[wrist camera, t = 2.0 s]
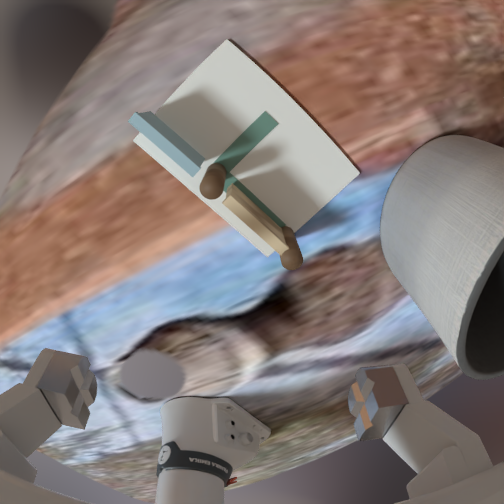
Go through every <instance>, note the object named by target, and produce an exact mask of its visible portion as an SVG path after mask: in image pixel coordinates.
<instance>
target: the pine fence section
mask: <svg viewBox="0 0 504 504" xmlns="http://www.w3.org/2000/svg"><path fill="white" fill-rule="evenodd" d="M226 174H227V172H226V168H225V167H224V166H223V165H222V164H220V163H213V164H211V165H210V166H209V167H208V168H207V170H206V173H205V175H204V177H203V179H202V181H201V183H200V188H199V189H200V193H201V194H202V196H203V197H205V198H207V199H210V200H213V199H217V198H219V197H220V196H221V195H222V193H223V190H224V184H225V179H226ZM222 204H224V205H225V206H226V207H227V208H228V209H229V210H230V211H231V212H233V213H234V214H235V215H236V216H237V217H238V218H239V219H240V220H242V221H243V222H244V223H245V224H246V225H247V226H248V227H249V228H251V229H252V230H253V231H254V232H255V233H256V234H257V235H258V236H260V237H261V238H262V239H263V240H264V241H265V242H266V243H267V244H269V245H270V246H271V247H272V248H273V249H274V250H275V251H276V252H277V253H279V254H280V258H281V262H282V265H283V267H284V268H286V269H288V270H295V269H297V268H299V267H300V266H301V265H302V263H303V257H302V254H301V251H300V248H299V246H298V243H297V240H296V237H295V235H294V232H293V230H292V229H291V228H290V227H288V226H284V227H281V228H280V227H279V226H278V225H277V224H276V223H275V222H274V221H273V220H272V219H271V218H270V217H269V216H268V215H267V214H265V213H264V212H263V211H262V210H261V209H260V208H259V207H258V206H257V205H256V204H255V203H254V202H252V201H251V200H250V199H249V198H248V197H247V196H246V195H245V194H244V193H243V192H242V191H240V190H239V189H238V188H237V187H236V186H235V185H234V184H233V183H232V184H231V185H230V186H229V187H228V188H227V193H226V198H225V199H224V201H223V202H222Z"/></svg>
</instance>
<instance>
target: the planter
mask: <svg viewBox="0 0 504 504" xmlns="http://www.w3.org/2000/svg"><path fill="white" fill-rule="evenodd" d="M380 239H381V246H382V250H383V254H384V257H385V259H386V261H387V263H388V265H389V267H390V269H391V271H392V272H393V274H394V275H395V277H396V278H397V280H398V281H399V282H400V283H401V285H402V286H403V287H404V289H405V290H406V291H407V293H408V294H409V295H410V297H411V298H412V299H413V301H414V302H415V303H416V305H417V306H418V307H419V309H420V310H421V311H422V313H423V314H424V315H425V317H426V318H427V320H428V321H429V322H430V324H431V325H432V327H433V328H434V330H435V331H436V332H437V334H438V335H439V337H440V338H441V340H442V341H443V343H444V344H445V346H446V347H447V349H448V350H449V352H450V353H451V355H452V357H453V358H454V360H455V361H456V363H457V364H458V366H459V367H460V369H461V370H462V371H463V373H464V374H466V375H467V376H469V377H471V378H473V379H478V380H479V379H480V380H485V379H491V378H496V377H499V376H502V375H504V148H502V147H500V146H497V145H494V144H491V143H489V142H486V141H483V140H480V139H477V138H473V137H469V136H463V135H448V136H443V137H439V138H436V139H434V140H431V141H429V142H428V143H426V144H424V145H423V146H421V147H420V148H419V149H417V150H416V151H415V152H414V153H413V154H412V155H411V156H410V157H409V158H408V159H407V160H406V161H405V162H404V163H403V165H402V166H401V167H400V169H399V170H398V172H397V173H396V175H395V177H394V178H393V180H392V182H391V184H390V187H389V189H388V191H387V194H386V197H385V200H384V203H383V207H382V213H381V220H380Z"/></svg>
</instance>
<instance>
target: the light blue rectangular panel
mask: <svg viewBox="0 0 504 504" xmlns="http://www.w3.org/2000/svg"><path fill="white" fill-rule="evenodd" d="M128 122H129V123H130V124H131V125H133V126H134V127H135V128H136V129H137V130H138V131H140V132H141V133H142V134H143V135H144V136H145V137H147V138H148V139H149V140H150V141H151V142H152V143H154V144H155V145H156V146H157V147H158V148H159V149H161V150H162V151H163V152H164V153H165V154H166V155H167V156H169V157H170V158H171V159H172V160H173V161H174V162H176V163H177V164H178V165H179V166H180V167H181V168H182V169H184V170H185V171H186V172H187V173H188V174H189V175H190V176H192V177H194V176H195V174H196V173H197V172H198V171H199V170H200V169H201V167H200V166H201V165H202V163H203V161H204V160H205V158H204V157H203V156H202V155H200V154H199V153H198V152H197V151H196V150H195V149H194V148H192V147H191V146H190V145H189V144H188V143H187V142H186V141H184V140H183V139H182V138H181V137H180V136H179V135H178V134H176V133H175V132H174V131H173V130H172V129H171V128H169V127H168V126H167V125H166V124H165V123H164V122H163V121H161V120H160V119H159V118H158V117H157V116H156V115H154V114H153V113H152V112H151V111H150V112H144V113H138V112H135V113H134V114H133V116H132V117H131V118H130V119H129V121H128Z"/></svg>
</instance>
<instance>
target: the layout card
mask: <svg viewBox="0 0 504 504" xmlns="http://www.w3.org/2000/svg"><path fill="white" fill-rule="evenodd" d="M155 115H156V116H157V117H158V118H159V119H160V120H161V121H163V122H164V123H165V124H166V125H167V126H168V127H169V128H171V129H172V130H173V131H174V132H175V133H176V134H178V135H179V136H180V137H181V138H182V139H183V140H184V141H186V142H187V143H188V144H189V145H190V146H191V147H192V148H194V149H195V150H196V151H197V152H198V153H199V154H200V155H202V156H203V157H204V158H205V160H204V161H203V163H202V165H201V166H200V167H201V169H200V170H199V171H198V172H197V173H196V174H195V176H194V177H192V176H190V175H189V174H188V173H187V172H186V171H185V170H184V169H182V168H181V167H180V166H179V165H178V164H177V163H176V162H174V161H173V160H172V159H171V158H170V157H169V156H167V155H166V154H165V153H164V152H163V151H162V150H161V149H159V148H158V147H157V146H156V145H155V144H154V143H152V142H151V141H150V140H149V139H148V138H147V137H145V136H144V135H143V134H142V133H141V132H140V133H139V134H138V135H137V137H136V138H135V139H134V140H133V141H134V142H135V143H136V144H137V145H139V146H140V147H141V148H142V149H143V150H144V151H146V152H147V153H148V154H149V155H150V156H151V157H153V158H154V159H155V160H156V161H157V162H158V163H159V164H161V165H162V166H163V167H164V168H165V169H166V170H168V171H169V172H170V173H171V174H172V175H173V176H175V177H176V178H177V179H178V180H179V181H180V182H181V183H183V184H184V185H185V186H186V187H187V188H188V189H190V190H191V191H192V192H193V193H194V194H195V195H196V196H198V197H199V198H200V199H201V200H202V201H203V202H205V203H206V204H207V205H208V206H209V207H210V208H211V209H213V210H214V211H215V212H216V213H217V214H218V215H220V216H221V217H222V218H223V219H224V220H225V221H226V222H228V223H229V224H230V225H231V226H232V227H233V228H234V229H236V230H237V231H238V232H239V233H240V234H241V235H243V236H244V237H245V238H246V239H247V240H248V241H249V242H251V243H252V244H253V245H254V246H255V247H256V248H257V249H259V250H260V251H261V252H262V253H263V254H264V255H265V256H267V257H269V256H270V255H271V254H272V253H273V252H274V251H275V250H274V249H273V248H272V247H271V246H270V245H269V244H267V243H266V242H265V241H264V240H263V239H262V238H261V237H260V236H258V235H257V234H256V233H255V232H254V231H253V230H252V229H251V228H249V227H248V226H247V225H246V224H245V223H244V222H243V221H242V220H240V219H239V218H238V217H237V216H236V215H235V214H234V213H233V212H231V211H230V210H229V209H228V208H227V207H226V206H225V205H224V204H222V202H223V201H224V199H225V198H226V193H227V188H228V187H229V186H230V185H231V184H232V183H233V184H234V185H235V186H236V187H237V188H238V189H239V190H240V191H242V192H243V193H244V194H245V195H246V196H247V197H248V198H249V199H250V200H251V201H252V202H254V203H255V204H256V205H257V206H258V207H259V208H260V209H261V210H262V211H263V212H264V213H265V214H267V215H268V216H269V217H270V218H271V219H272V220H273V221H274V222H275V223H276V224H277V225H278V226H279V227H280V228H281V227H284V226H288V227H290V228H291V229H292V230H293V232H294V233H295V232H296V231H297V230H298V229H300V228H301V227H302V226H303V225H304V224H305V223H306V222H307V221H308V220H309V219H311V218H312V217H313V216H314V215H315V214H316V213H317V212H318V211H319V210H320V209H322V208H323V207H324V206H325V205H326V204H327V203H328V202H329V201H330V200H331V199H332V198H334V197H335V196H336V195H337V194H338V193H339V192H340V191H341V190H342V189H343V188H344V187H346V186H347V185H348V184H349V183H350V182H351V181H352V180H353V179H354V178H355V177H356V176H358V175H359V174H360V173H359V171H358V170H357V169H356V168H355V167H354V165H353V164H352V163H351V162H350V161H349V160H348V158H347V157H346V156H345V155H344V154H343V153H342V151H341V150H340V149H339V148H338V147H337V146H336V145H335V144H334V142H333V141H332V140H331V139H330V138H329V137H328V136H327V135H326V134H325V132H324V131H323V130H322V129H321V128H320V127H319V126H318V125H317V124H316V123H315V122H314V121H313V120H312V119H311V118H310V116H309V115H308V114H307V113H306V112H305V111H304V110H303V109H302V108H301V107H300V106H299V105H298V104H297V103H296V102H295V101H294V100H293V99H292V98H291V97H290V96H289V95H288V94H287V93H286V92H285V91H284V90H283V89H282V88H281V87H280V86H279V85H278V84H276V83H275V82H274V81H273V80H272V79H271V78H270V77H269V76H268V75H267V74H266V73H265V72H264V71H263V70H262V69H260V68H259V67H258V66H257V65H256V64H255V63H254V62H253V61H252V60H250V59H249V58H248V57H247V56H246V55H245V54H244V53H243V52H241V51H240V50H239V49H238V48H237V47H236V46H234V45H233V44H232V43H231V42H230V41H228V40H226V41H224V42H223V43H222V44H221V45H220V46H219V47H218V48H217V49H216V50H215V51H214V52H213V53H212V54H211V55H210V56H209V57H208V58H207V59H206V60H205V61H204V62H203V63H202V64H201V65H200V66H199V67H198V68H197V69H196V70H195V71H194V72H193V73H192V74H191V75H190V76H189V77H188V78H187V79H186V80H185V81H184V82H183V83H182V84H181V85H180V87H179V88H178V89H177V90H176V91H175V92H174V93H173V94H172V95H171V96H170V98H169V99H168V100H167V101H166V102H165V103H164V104H163V105H162V107H161V108H160V109H159V110H158V111H157V112H156V114H155ZM213 163H220V164H222V165H223V166H224V167H225V168H226V172H227V174H226V179H225V184H224V190H223V193H222V195H221V196H220V197H219V198H217V199H213V200H210V199H207V198H205V197H203V196H202V194H201V193H200V189H199V188H200V183H201V181H202V179H203V177H204V175H205V173H206V170H207V168H208V167H209V166H210V165H211V164H213Z"/></svg>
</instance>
